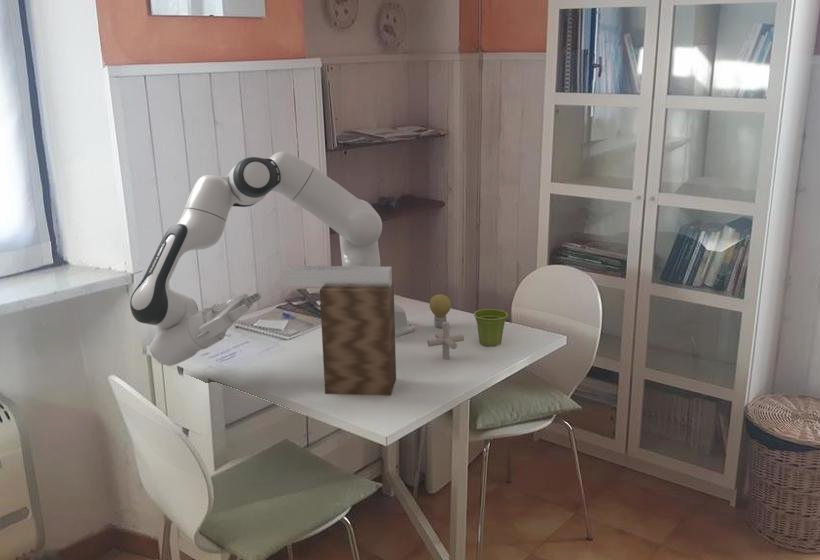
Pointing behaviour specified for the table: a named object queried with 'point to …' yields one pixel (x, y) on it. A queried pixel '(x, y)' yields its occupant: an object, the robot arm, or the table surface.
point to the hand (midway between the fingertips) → (253, 300)
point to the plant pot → (490, 326)
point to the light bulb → (440, 308)
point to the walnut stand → (358, 340)
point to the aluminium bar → (336, 276)
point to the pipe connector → (445, 340)
